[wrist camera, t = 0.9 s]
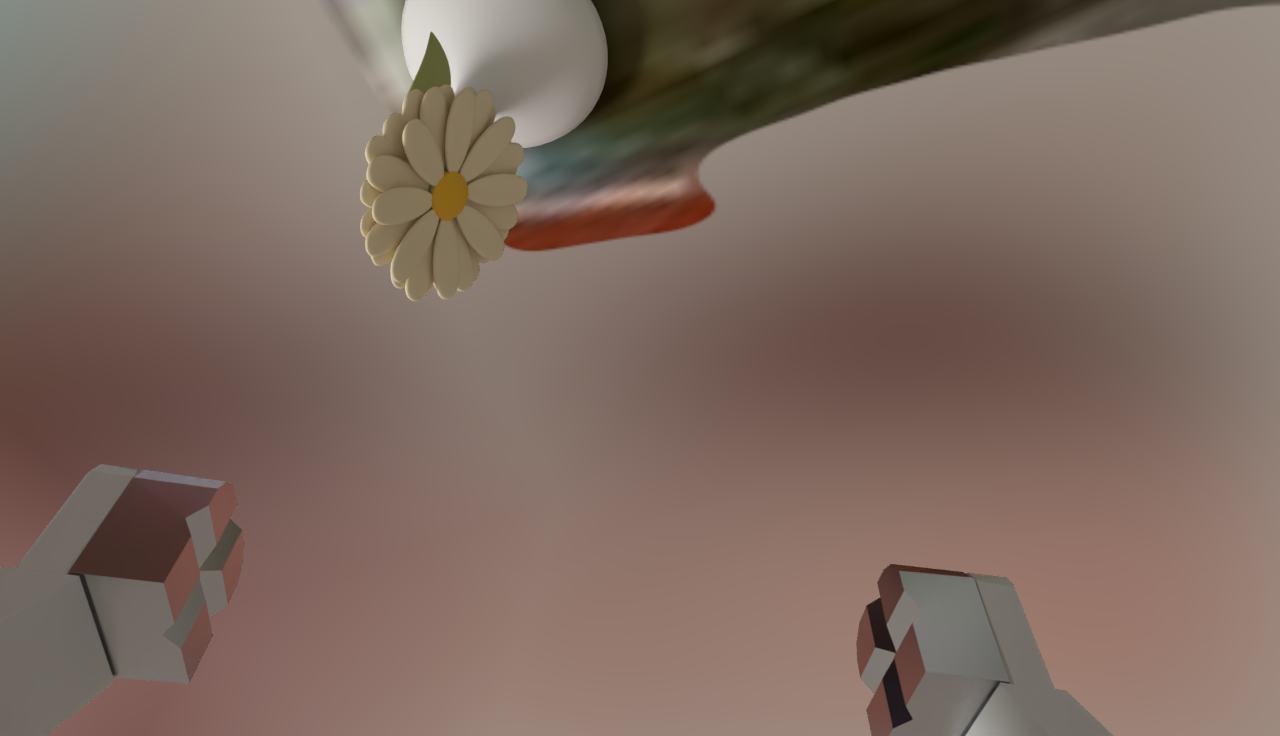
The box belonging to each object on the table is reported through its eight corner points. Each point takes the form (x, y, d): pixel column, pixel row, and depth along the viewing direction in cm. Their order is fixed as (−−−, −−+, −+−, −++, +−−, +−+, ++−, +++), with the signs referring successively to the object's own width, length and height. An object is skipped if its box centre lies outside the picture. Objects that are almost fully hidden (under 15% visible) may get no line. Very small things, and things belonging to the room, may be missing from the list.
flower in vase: (579, 159, 55) (481, 460, 37) (396, 92, 54) (197, 372, 35) (650, -52, 47) (570, 201, 28) (435, -139, 45) (200, 69, 26)
